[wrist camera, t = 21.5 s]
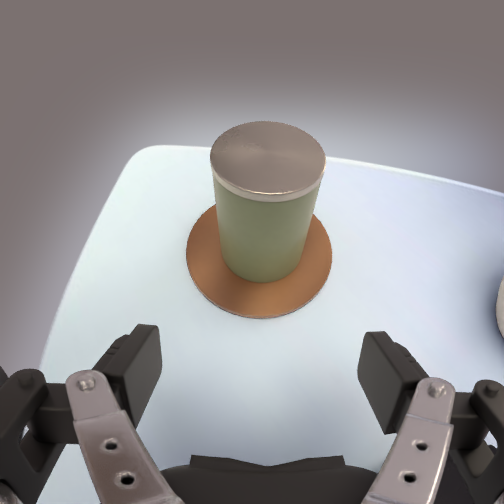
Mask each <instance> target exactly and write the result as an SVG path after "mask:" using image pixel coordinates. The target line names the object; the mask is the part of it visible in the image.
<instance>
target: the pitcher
mask: <svg viewBox="0 0 504 504" xmlns="http://www.w3.org/2000/svg"><path fill="white" fill-rule="evenodd" d="M496 318H497V323H498V327H499V330H500V332H501V335H502V337H503V338H504V276H503V279H502V282H501V285H500V288H499V292H498V298H497V302H496Z"/></svg>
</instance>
